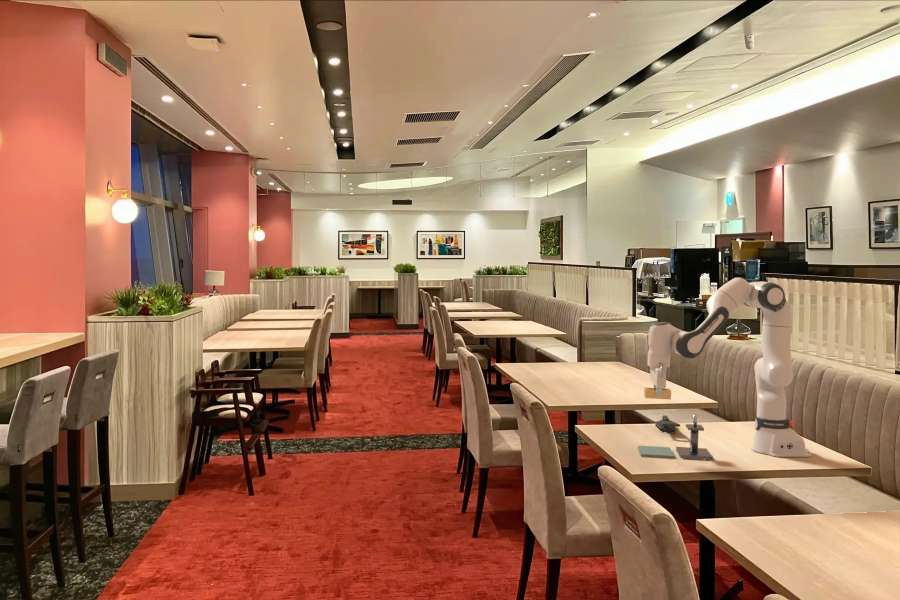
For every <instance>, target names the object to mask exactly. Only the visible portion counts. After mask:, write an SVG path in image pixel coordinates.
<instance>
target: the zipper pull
mask: <svg viewBox="0 0 900 600" xmlns="http://www.w3.org/2000/svg"><path fill="white" fill-rule="evenodd" d="M661 417H662V419H660V420H657V421H655V426H656V427H657V428H658V429H659V430H660V431H662V432H661V433H664V432H668V433H667V434H672V433H671V432H675V433H676V427H679V428H680V427H681V423H677V422H675V421H673V420H670V418H669V417H668V415H664V414H663V415H662V416H661ZM656 427H655V428H656ZM657 428H656V429H657ZM658 429H657V430H658ZM659 430H658V431H659ZM660 431H659V432H660Z"/></svg>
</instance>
